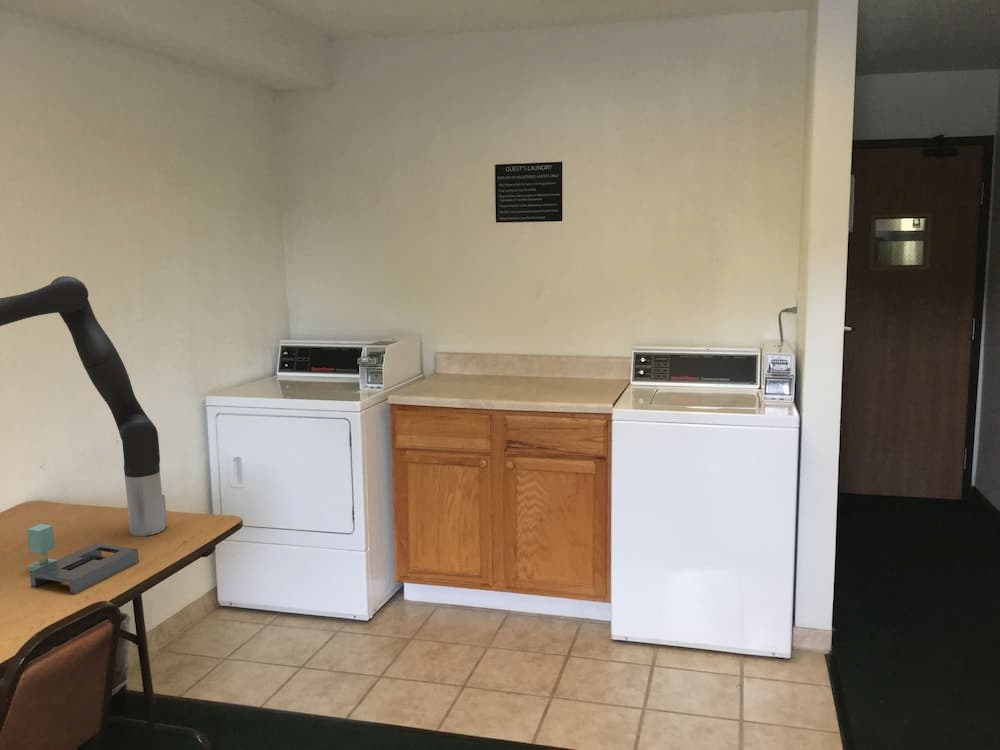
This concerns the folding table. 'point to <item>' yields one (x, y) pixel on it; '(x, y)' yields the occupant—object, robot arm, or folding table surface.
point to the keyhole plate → (86, 566)
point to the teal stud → (41, 544)
